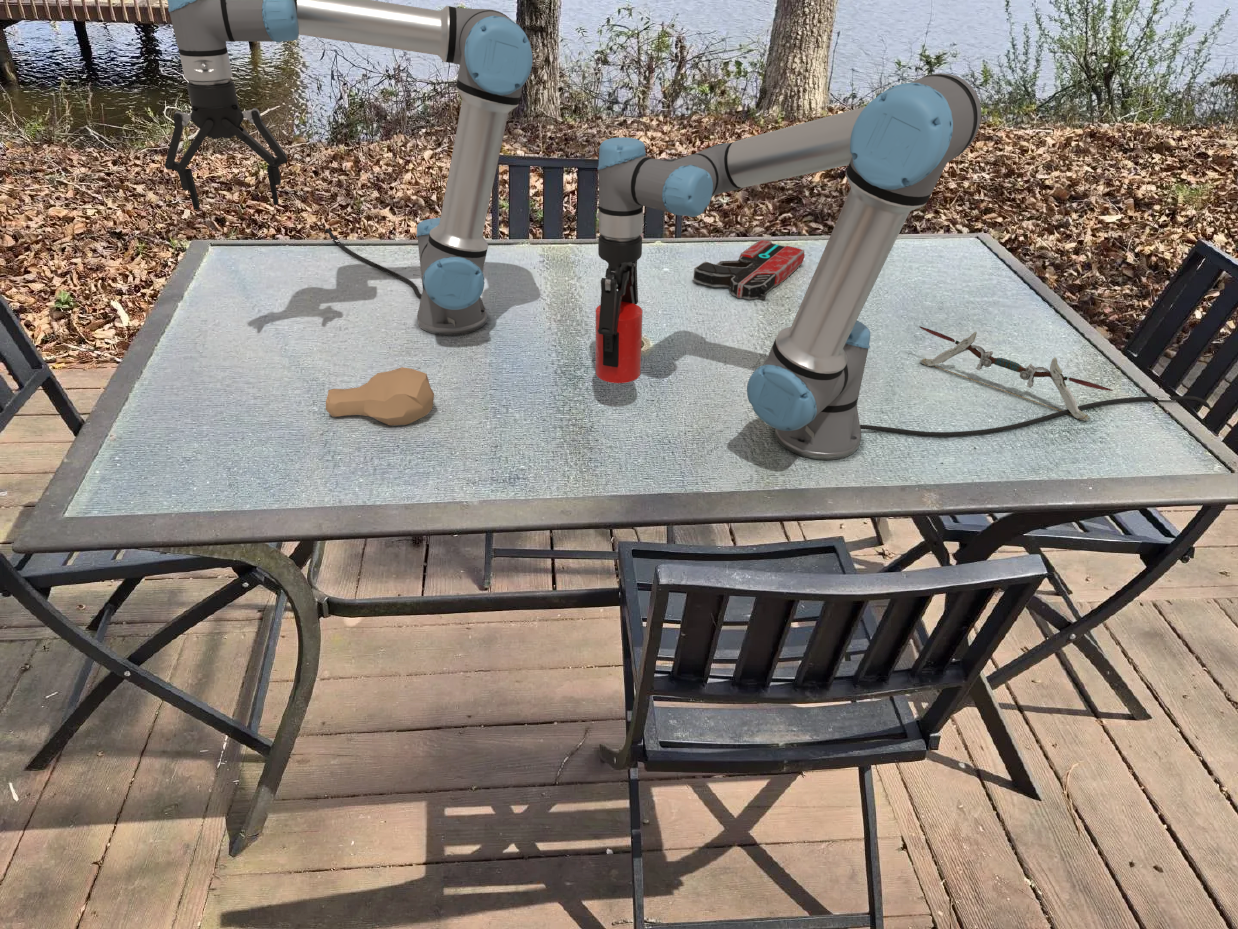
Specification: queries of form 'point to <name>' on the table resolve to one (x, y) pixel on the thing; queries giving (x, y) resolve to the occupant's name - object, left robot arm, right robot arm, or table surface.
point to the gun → (752, 270)
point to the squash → (386, 397)
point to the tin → (622, 346)
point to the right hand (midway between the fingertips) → (618, 354)
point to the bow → (1025, 373)
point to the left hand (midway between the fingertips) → (237, 205)
